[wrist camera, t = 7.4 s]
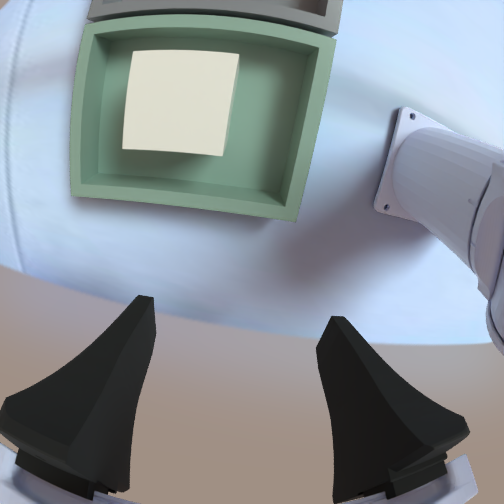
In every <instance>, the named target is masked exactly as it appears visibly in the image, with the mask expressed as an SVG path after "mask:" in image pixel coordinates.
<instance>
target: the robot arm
mask: <svg viewBox="0 0 504 504" xmlns="http://www.w3.org/2000/svg"><path fill="white" fill-rule="evenodd" d="M411 113H412V115H413V117H412V119H411V118H410V114H411ZM386 204H387V208H385V209H384V206H385V205H386ZM373 206H374V209H375V210H376V211H377V212H380V213H384V214H388V215H392V216H396V217H400V218H404V219H408V220H412V221H415V222H419V223H421V224H422V225H423V226H425V227H426V228H427V229H428V230H429V231H430V232H432V233H433V234H434V235H435V236H436V237H437V238H438V239H439V240H441V241H442V242H443V243H444V244H445V245H446V246H447V247H448V248H449V249H450V250H451V251H453V252H454V253H455V254H456V255H457V256H458V257H459V258H460V259H461V260H462V261H463V262H464V263H465V264H466V265H467V266H468V267H469V268H470V269H471V270H472V271H473V272H474V273H475V274H476V276H477V277H478V290H479V291H480V292H481V293H482V294H483V295H484V296H485V298H486V299H487V300H488V304H487V308H486V324H487V329H488V332H489V335H490V337H491V339H492V341H493V343H494V344H495V346H496V347H497V349H498V350H499V351H500V352H501V353H502V354H503V355H504V149H501V148H499V147H496V146H493V145H491V144H488V143H485V142H482V141H479V140H476V139H473V138H470V137H467V136H464V135H461V134H457V133H455V132H454V131H452V130H450V129H449V128H447V127H445V126H443V125H442V124H440V123H438V122H436V121H434V120H433V119H431V118H429V117H427V116H425V115H423V114H421V113H419V112H417V111H415V110H413V109H411V108H409V107H401V108H400V110H399V113H398V118H397V122H396V126H395V130H394V135H393V139H392V143H391V146H390V150H389V154H388V158H387V161H386V165H385V168H384V172H383V175H382V178H381V182H380V185H379V188H378V191H377V195H376V198H375V201H374V205H373ZM155 337H156V324H155V312H154V297H148V296H142V295H138V296H137V297H136V298H135V299H134V300H133V301H132V302H131V304H130V305H129V306H128V307H127V308H126V309H125V310H124V311H123V312H122V314H121V315H120V316H119V317H118V318H117V319H116V320H115V321H114V322H113V323H112V324H111V325H110V326H109V327H108V328H107V329H106V331H104V332H103V333H102V334H101V335H100V336H99V337H98V338H97V339H96V340H95V341H94V342H93V343H92V344H91V345H90V346H88V347H87V348H86V349H85V350H84V351H83V352H81V353H80V354H79V355H78V356H77V357H75V358H74V359H73V360H72V361H70V362H69V363H67V364H66V365H65V366H63V367H62V368H60V369H59V370H58V371H56V372H55V373H53V374H52V375H50V376H48V377H46V378H45V379H43V380H42V381H40V382H38V383H36V384H35V385H33V386H31V387H29V388H27V389H25V390H23V391H20V392H18V393H16V394H14V395H11V396H9V397H6V399H5V401H4V403H3V405H2V407H1V410H0V433H1V434H2V435H3V436H4V437H5V438H7V439H8V440H9V441H10V442H12V443H13V444H14V445H15V446H17V447H18V448H19V450H18V453H16V452H14V451H13V450H11V449H10V448H8V447H6V446H5V445H3V444H2V443H0V504H139V503H135V502H131V501H127V500H123V499H120V498H116V497H113V496H109V495H108V492H111V493H115V494H116V493H117V491H119V492H125V491H127V490H128V489H129V488H130V484H129V483H130V456H131V444H132V435H133V427H134V420H135V414H136V408H137V403H138V399H139V396H140V392H141V389H142V385H143V382H144V379H145V376H146V373H147V369H148V366H149V363H150V360H151V356H152V352H153V347H154V342H155ZM316 353H317V362H318V369H319V373H320V377H321V381H322V385H323V389H324V393H325V397H326V401H327V405H328V409H329V413H330V419H331V426H332V436H333V450H334V484H333V495H332V496H333V503H334V504H337V503H341V504H464V503H465V502H467V501H468V500H469V499H471V498H472V497H473V496H475V495H476V494H477V493H478V489H477V485H476V482H475V479H474V476H473V472H472V470H471V467H470V464H469V461H468V458H467V455H466V454H463V455H461V456H460V457H458V458H456V459H454V460H453V461H451V462H449V463H447V464H445V463H444V460H445V459H447V454H446V451H448V450H449V449H451V448H452V447H453V446H455V445H457V444H458V443H459V442H461V441H462V440H463V439H465V438H466V437H467V436H468V435H469V433H470V431H469V428H468V426H467V423H466V421H465V419H464V417H462V416H461V415H459V414H456V413H454V412H452V411H450V410H448V409H446V408H444V407H442V406H441V405H439V404H437V403H436V402H434V401H432V400H431V399H429V398H428V397H426V396H424V395H423V394H422V393H421V392H419V391H418V390H416V389H415V388H414V387H412V386H411V385H410V384H409V383H408V382H406V381H405V380H404V379H403V378H402V377H400V376H399V375H398V374H397V373H396V372H395V371H394V370H393V369H392V368H391V367H390V366H389V365H388V364H387V363H386V362H385V361H384V360H383V359H382V358H381V357H380V356H379V355H378V354H377V353H376V352H375V350H374V349H373V348H372V347H371V346H370V345H369V344H368V343H367V341H366V340H365V339H364V338H363V337H362V336H361V335H360V333H359V332H358V331H357V330H356V329H355V328H354V327H353V325H352V324H351V323H350V322H349V321H348V320H347V319H346V318H345V317H343V316H331V318H330V320H329V322H328V324H327V326H326V328H325V330H324V332H323V335H322V337H321V339H320V341H319V343H318V345H317V347H316ZM362 497H364V498H362ZM358 498H361V499H358ZM354 499H358V500H354ZM350 500H353V501H350ZM346 501H350V502H346ZM342 502H345V503H342Z"/></svg>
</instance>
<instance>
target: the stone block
mask: <svg viewBox="0 0 504 504" xmlns="http://www.w3.org/2000/svg"><path fill="white" fill-rule="evenodd" d="M238 74H239V54H234V53H224V52H213V51H196V50H146V51H133V55H132V61H131V67H130V73H129V80H128V88H127V96H126V105H125V116H124V128H123V145H122V149H138V150H158V151H172V152H185V153H196V154H206V155H215V156H223V153H224V151H225V148H226V145H227V141H228V134H229V127H230V121H231V115H232V109H233V103H234V97H235V91H236V85H237V79H238Z"/></svg>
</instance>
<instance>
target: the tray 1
mask: <svg viewBox="0 0 504 504" xmlns="http://www.w3.org/2000/svg"><path fill="white" fill-rule="evenodd" d="M342 5H343V0H92V3H91V6H90V9H89V12H88V16H87V19H89V20H91V21H94V22H100V21H106V20H112V19H119V18H127V17H137V16H149V15H171V14H191V15H214V16H226V17H236V18H244V19H251V20H258V21H264V22H270V23H275V24H280V25H285V26H289V27H294V28H298V29H302V30H306V31H310V32H313V33H317V34H320V35H324V36H327V37H330V38H331V37H333V36H335V35H336V34H338V29H339V23H340V17H341V11H342Z"/></svg>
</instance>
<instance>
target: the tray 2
mask: <svg viewBox="0 0 504 504" xmlns="http://www.w3.org/2000/svg"><path fill="white" fill-rule="evenodd" d="M335 46H336V39H333V38H330V37H327V36H324V35H320V34H317V33H313V32H310V31H306V30H302V29H298V28H294V27H289V26H285V25H280V24H275V23H270V22H264V21H258V20H251V19H244V18H236V17H226V16H214V15H191V14H171V15H149V16H137V17H127V18H119V19H112V20H106V21H100V22H95V23H90V24H85V27H84V31H83V36H82V40H81V45H80V50H79V55H78V60H77V66H76V73H75V80H74V88H73V97H72V107H71V122H70V184H71V196H78V197H91V198H103V199H114V200H125V201H135V202H145V203H155V204H164V205H173V206H182V207H190V208H198V209H206V210H214V211H222V212H229V213H236V214H244V215H251V216H258V217H265V218H271V219H278V220H284V221H291V222H296V220H297V216H298V212H299V208H300V204H301V200H302V196H303V192H304V188H305V184H306V180H307V176H308V172H309V168H310V164H311V159H312V155H313V151H314V146H315V142H316V138H317V133H318V129H319V124H320V120H321V115H322V111H323V106H324V101H325V96H326V92H327V87H328V82H329V77H330V72H331V67H332V62H333V56H334V51H335ZM146 50H196V51H213V52H224V53H234V54H239V74H238V79H237V85H236V91H235V97H234V103H233V109H232V115H231V121H230V127H229V134H228V141H227V145H226V148H225V151H224V153H223V156H215V155H206V154H196V153H185V152H172V151H158V150H138V149H122V145H123V128H124V116H125V105H126V96H127V88H128V80H129V73H130V67H131V61H132V55H133V51H146Z"/></svg>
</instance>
